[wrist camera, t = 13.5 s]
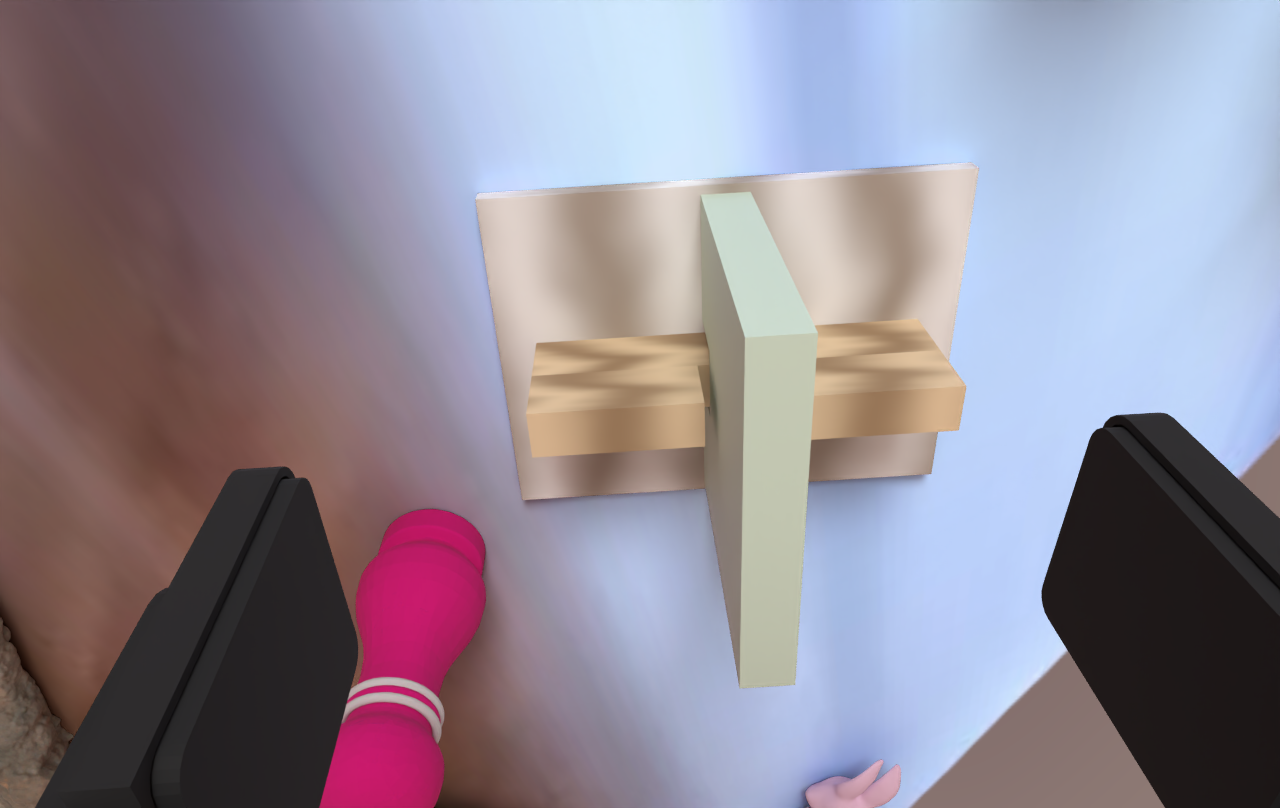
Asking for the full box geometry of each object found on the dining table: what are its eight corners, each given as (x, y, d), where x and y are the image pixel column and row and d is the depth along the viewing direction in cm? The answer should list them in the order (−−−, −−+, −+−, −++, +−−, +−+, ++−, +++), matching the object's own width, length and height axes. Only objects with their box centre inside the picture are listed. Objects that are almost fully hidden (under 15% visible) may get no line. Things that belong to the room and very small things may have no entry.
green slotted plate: (700, 194, 41) (745, 337, 28) (750, 191, 41) (818, 332, 28) (704, 480, 50) (739, 688, 37) (745, 478, 50) (795, 684, 37)
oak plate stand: (523, 489, 51) (511, 584, 44) (478, 193, 41) (453, 254, 34) (925, 464, 51) (975, 554, 44) (971, 162, 41) (1043, 217, 35)
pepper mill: (466, 488, 51) (397, 796, 33) (511, 574, 54) (469, 892, 37) (354, 518, 51) (231, 833, 34) (405, 601, 55) (317, 923, 38)
